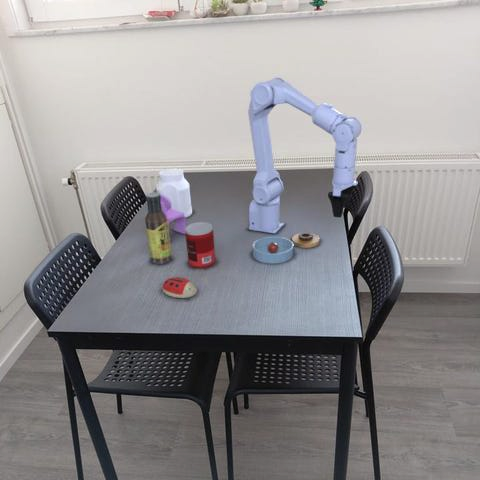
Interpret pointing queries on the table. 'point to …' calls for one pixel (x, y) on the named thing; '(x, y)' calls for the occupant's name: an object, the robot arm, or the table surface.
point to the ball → (272, 247)
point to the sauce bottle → (157, 230)
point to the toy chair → (173, 215)
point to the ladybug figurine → (179, 288)
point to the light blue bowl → (280, 256)
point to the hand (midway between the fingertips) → (340, 212)
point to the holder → (305, 240)
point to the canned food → (200, 245)
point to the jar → (175, 190)
